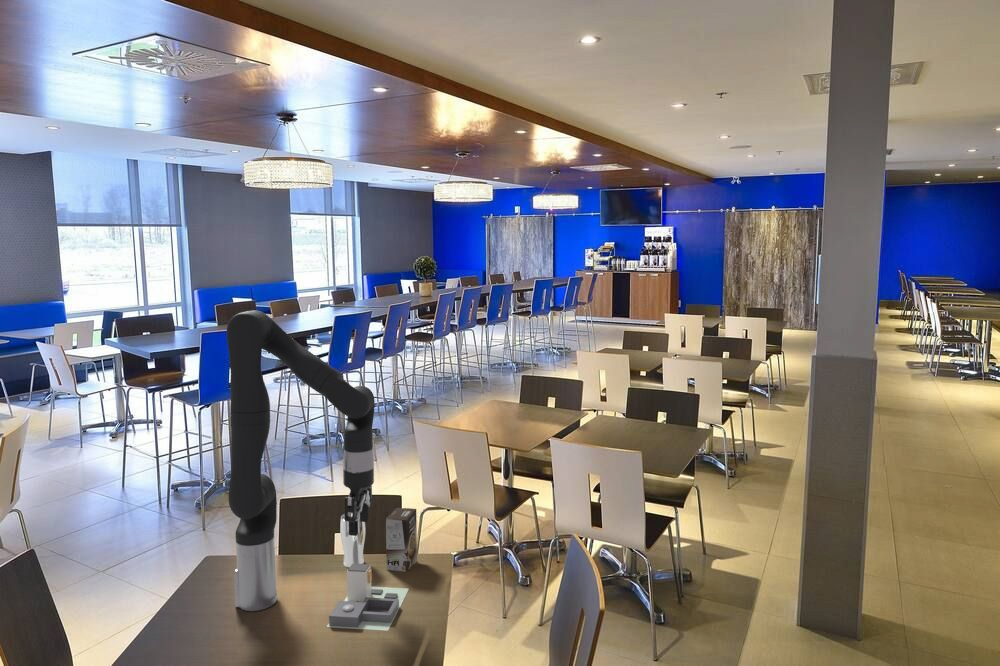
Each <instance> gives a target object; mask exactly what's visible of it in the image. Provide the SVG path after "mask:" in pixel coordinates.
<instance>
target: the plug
mask: <svg viewBox="0 0 1000 666" xmlns="http://www.w3.org/2000/svg"><path fill="white" fill-rule="evenodd" d="M371 566H372V564H368V563H363V564H352V565H351V566H350V567H348V569H346V570H347V571H346V591H347V593H346V594H347V595H346V597H348V601H354V602H357V601H359V602H363V601H364V600H365V598H366V597H369V598H370V596H371V587H372V581H373V577H372V576H373V572H372V571H373V570H372V567H371Z"/></svg>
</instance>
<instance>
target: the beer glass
mask: <svg viewBox="0 0 1000 666" xmlns="http://www.w3.org/2000/svg"><path fill="white" fill-rule="evenodd" d="M351 516H352V514H351ZM339 527H340V529H339V532H340V541H341V546H342V550H343V566H344V567H347V568H349V567H350V566H351V565H352V564H365V560H364V546H365V540H366V522H361V521H360V513H359V517H358V534H357V536H351V535H349V521H345V513H344V514H342V515H341V516H340V525H339Z"/></svg>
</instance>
